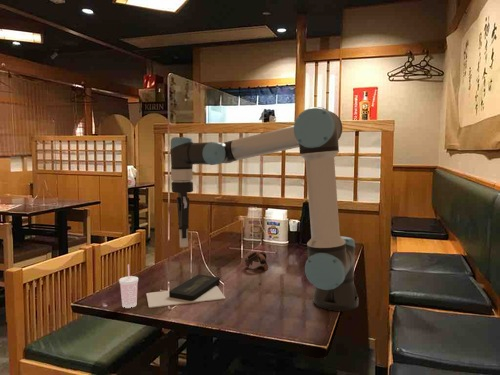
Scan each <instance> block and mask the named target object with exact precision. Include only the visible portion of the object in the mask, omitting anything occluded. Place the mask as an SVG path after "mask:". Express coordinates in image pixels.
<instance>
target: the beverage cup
mask: <svg viewBox="0 0 500 375" xmlns="http://www.w3.org/2000/svg"><path fill="white" fill-rule="evenodd" d="M118 282H119V286H120V295H121V296H120V297H121V306H122V308H124V307H125V309H131V307H132V308H134V307H136V306H137V301H138V285H139V284H138V282H139V277H138V276H133V275H130V264H127V276H123V277H121V278H119V279H118Z"/></svg>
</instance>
